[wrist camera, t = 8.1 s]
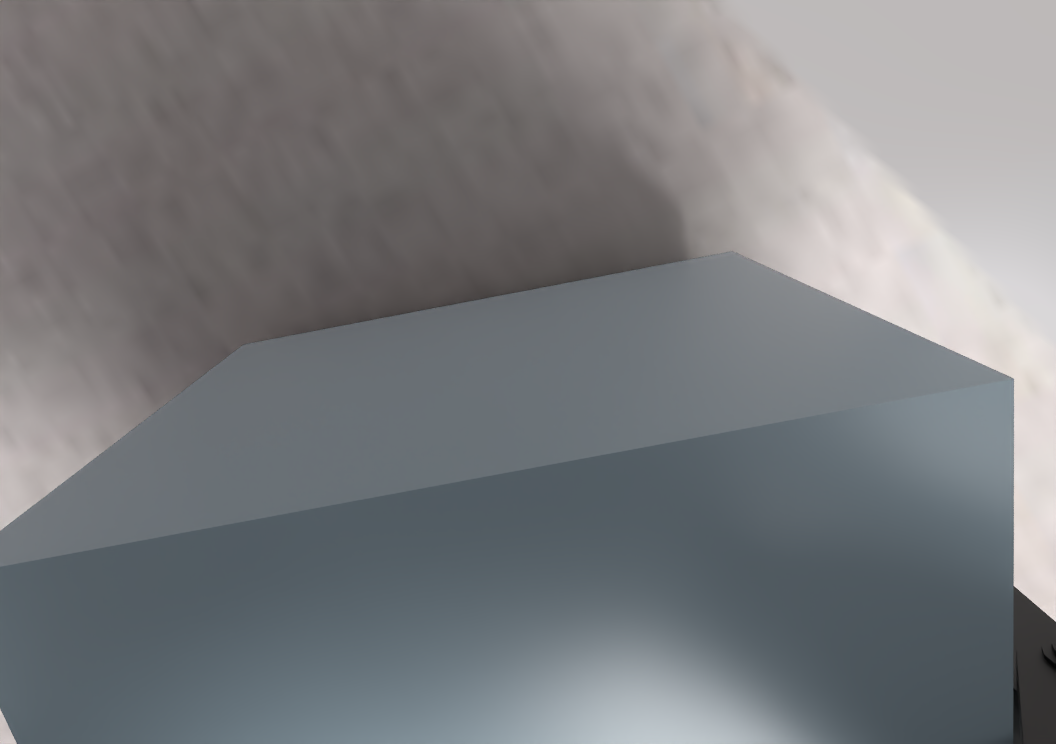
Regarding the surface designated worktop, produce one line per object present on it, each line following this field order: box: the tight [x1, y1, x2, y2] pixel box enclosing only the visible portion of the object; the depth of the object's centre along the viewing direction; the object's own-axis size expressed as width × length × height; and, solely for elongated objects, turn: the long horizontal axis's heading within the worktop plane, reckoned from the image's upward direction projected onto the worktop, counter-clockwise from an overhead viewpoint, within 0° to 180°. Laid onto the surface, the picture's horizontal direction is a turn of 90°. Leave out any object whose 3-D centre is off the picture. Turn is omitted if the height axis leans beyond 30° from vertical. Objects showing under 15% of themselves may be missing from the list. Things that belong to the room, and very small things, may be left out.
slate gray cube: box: [0, 251, 1014, 744], centre depth 13 cm, size 10×10×9 cm
